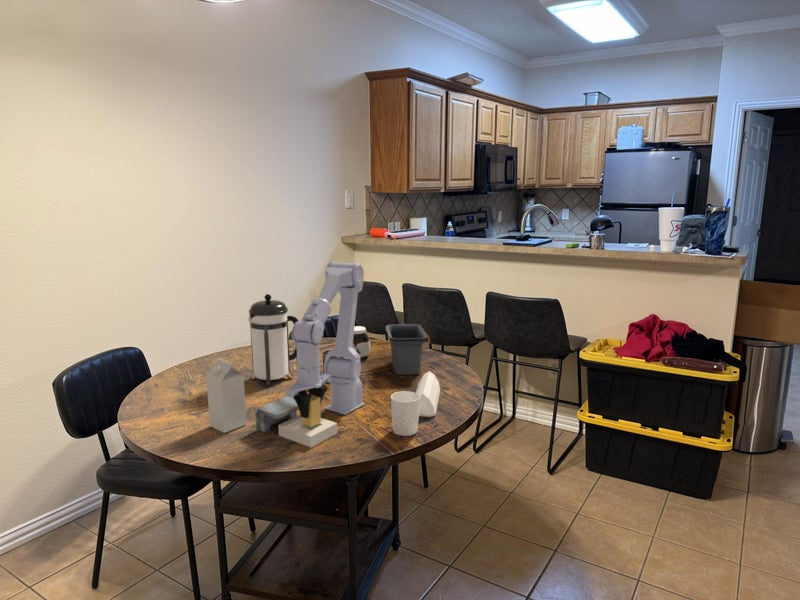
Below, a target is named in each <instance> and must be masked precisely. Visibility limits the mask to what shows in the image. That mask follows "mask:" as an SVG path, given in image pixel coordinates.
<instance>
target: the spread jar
mask: <svg viewBox="0 0 800 600" xmlns="http://www.w3.org/2000/svg"><path fill="white" fill-rule="evenodd" d="M352 348H353V349H354V350H355V351H356V352H357V353H358V354H359V355H360V361H362V360H365V359H366V358H367V357H368V356H369V355H370V352H371V339H370V336H369V334H368V333H367V329H366V327H365V326H360V325H359V326H357V325H356V326H354V336H353V346H352ZM344 358H345V359H350V358H347V357H344Z"/></svg>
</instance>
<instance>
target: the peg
mask: <svg viewBox="0 0 800 600" xmlns="http://www.w3.org/2000/svg"><path fill="white" fill-rule="evenodd" d="M310 395H311V394H310ZM321 405H322V402H320V397H317V396H314V395H312V396H311V399H310V403H309V416H308V418H304V417H302V423H303V424H306V425H308V426H311V427H312V426H314V425H316V424H318V423H320V422H321V418H322V416H321V415H322V414H321V412H322V411H321V410H322V409H321Z"/></svg>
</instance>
